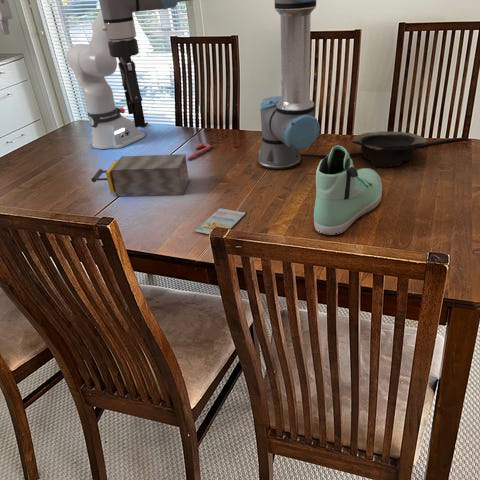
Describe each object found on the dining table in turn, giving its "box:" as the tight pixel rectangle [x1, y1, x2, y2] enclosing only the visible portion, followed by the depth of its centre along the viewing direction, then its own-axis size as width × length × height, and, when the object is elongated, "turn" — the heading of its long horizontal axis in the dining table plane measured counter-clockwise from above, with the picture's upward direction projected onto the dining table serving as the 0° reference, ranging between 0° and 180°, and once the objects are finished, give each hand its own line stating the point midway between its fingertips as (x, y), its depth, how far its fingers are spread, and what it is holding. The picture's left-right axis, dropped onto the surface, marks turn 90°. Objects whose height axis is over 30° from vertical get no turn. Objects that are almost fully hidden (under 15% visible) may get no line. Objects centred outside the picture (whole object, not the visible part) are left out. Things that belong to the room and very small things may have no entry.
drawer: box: [91, 159, 119, 194], centre depth 159 cm, size 27×10×7 cm, turn 85°
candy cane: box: [186, 143, 212, 161], centre depth 185 cm, size 6×15×2 cm, turn 145°
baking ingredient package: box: [194, 207, 246, 235], centre depth 137 cm, size 9×1×15 cm
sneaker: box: [313, 145, 383, 236], centre depth 133 cm, size 14×35×20 cm, turn 152°
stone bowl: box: [351, 131, 429, 168], centre depth 166 cm, size 25×25×9 cm
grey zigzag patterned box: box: [111, 153, 190, 198], centre depth 158 cm, size 22×12×9 cm, turn 85°
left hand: (0, 33), depth 160 cm, fingers open, 8 cm apart
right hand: (136, 119), depth 135 cm, fingers open, 13 cm apart
